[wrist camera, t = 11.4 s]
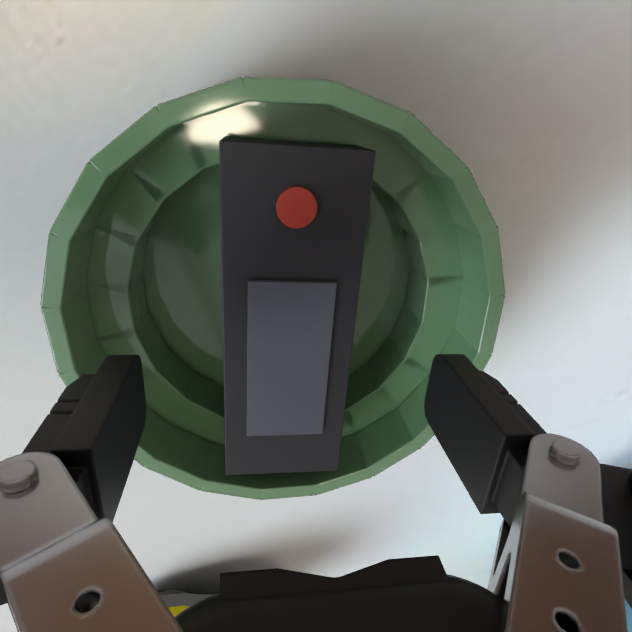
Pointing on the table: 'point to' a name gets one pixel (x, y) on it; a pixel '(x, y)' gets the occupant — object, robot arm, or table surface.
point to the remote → (289, 297)
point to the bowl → (206, 274)
